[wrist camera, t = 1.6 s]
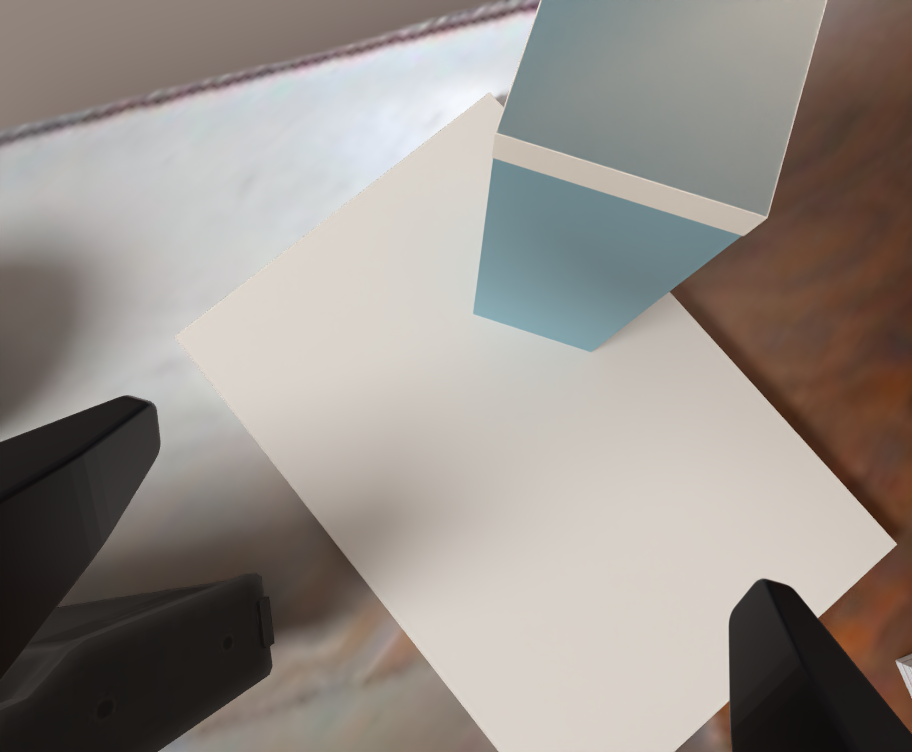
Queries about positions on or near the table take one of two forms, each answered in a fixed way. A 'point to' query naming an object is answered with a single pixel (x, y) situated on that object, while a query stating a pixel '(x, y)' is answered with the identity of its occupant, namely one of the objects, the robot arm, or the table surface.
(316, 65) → the table surface
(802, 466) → the cream rectangular board
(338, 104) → the table surface
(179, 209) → the table surface
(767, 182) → the teal block
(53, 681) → the magazine
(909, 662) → the picture frame
